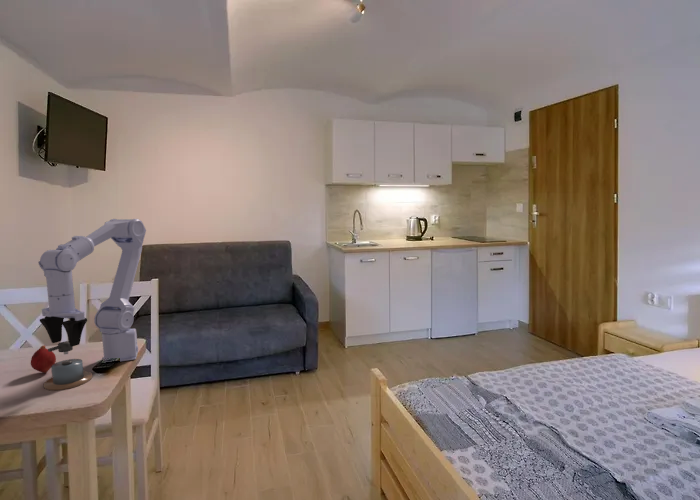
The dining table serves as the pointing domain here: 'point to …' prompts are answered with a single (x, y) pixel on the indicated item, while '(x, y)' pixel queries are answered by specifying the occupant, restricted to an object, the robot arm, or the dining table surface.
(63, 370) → the dispenser
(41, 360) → the red round fruit
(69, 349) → the pump head
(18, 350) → the dining table surface
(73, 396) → the dining table surface
